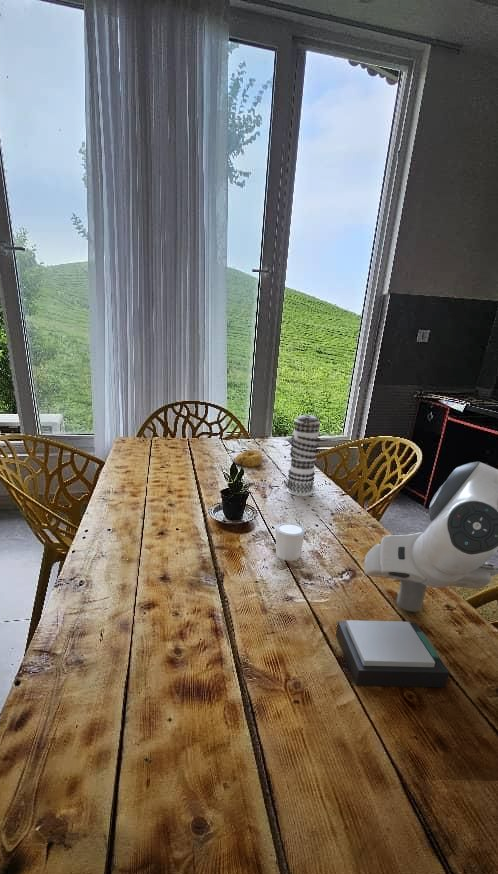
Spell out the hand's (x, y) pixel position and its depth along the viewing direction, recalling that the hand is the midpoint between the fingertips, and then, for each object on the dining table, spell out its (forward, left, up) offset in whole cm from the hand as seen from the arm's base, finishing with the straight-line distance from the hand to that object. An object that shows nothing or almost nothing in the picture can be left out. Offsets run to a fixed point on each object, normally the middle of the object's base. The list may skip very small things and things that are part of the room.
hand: (413, 579), depth 85 cm
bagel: (+24, -93, -7) cm, 97 cm away
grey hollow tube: (0, +1, -6) cm, 6 cm away
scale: (+9, +15, -7) cm, 19 cm away
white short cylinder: (+20, -20, -7) cm, 30 cm away
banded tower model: (+9, -64, -7) cm, 65 cm away
